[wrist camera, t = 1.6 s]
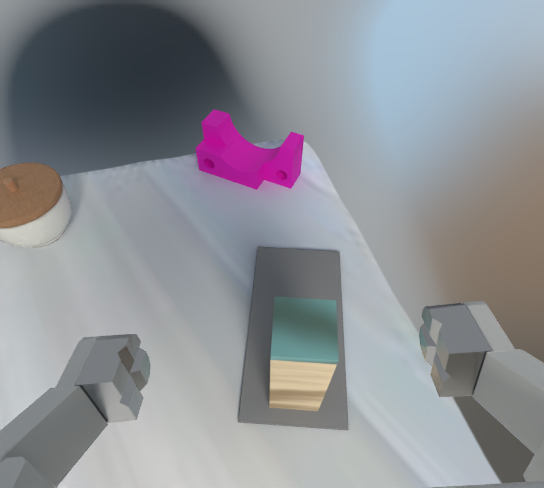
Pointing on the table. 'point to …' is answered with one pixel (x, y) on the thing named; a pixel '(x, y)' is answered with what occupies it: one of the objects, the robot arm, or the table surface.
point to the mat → (256, 381)
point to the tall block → (302, 352)
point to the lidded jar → (32, 205)
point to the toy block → (246, 155)
